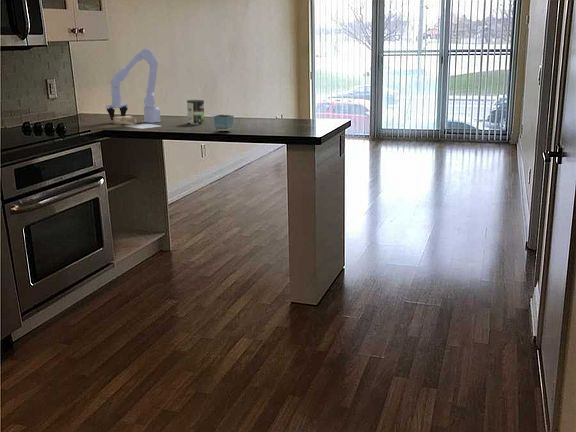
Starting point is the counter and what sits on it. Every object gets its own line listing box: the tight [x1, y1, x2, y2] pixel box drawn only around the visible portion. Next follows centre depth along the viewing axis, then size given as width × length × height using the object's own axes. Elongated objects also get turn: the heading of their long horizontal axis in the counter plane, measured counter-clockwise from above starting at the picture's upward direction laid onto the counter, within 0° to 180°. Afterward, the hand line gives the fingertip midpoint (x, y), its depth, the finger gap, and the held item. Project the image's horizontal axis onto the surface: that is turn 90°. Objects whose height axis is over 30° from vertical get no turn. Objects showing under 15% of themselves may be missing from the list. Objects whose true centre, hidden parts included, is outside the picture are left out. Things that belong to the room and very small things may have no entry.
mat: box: [125, 123, 161, 130], centre depth 357 cm, size 16×16×1 cm
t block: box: [112, 115, 138, 126], centre depth 365 cm, size 12×12×4 cm
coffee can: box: [186, 99, 205, 124], centre depth 370 cm, size 10×10×14 cm
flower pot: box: [213, 114, 234, 130], centre depth 338 cm, size 9×9×9 cm
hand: (117, 119), depth 370 cm, fingers open, 7 cm apart
